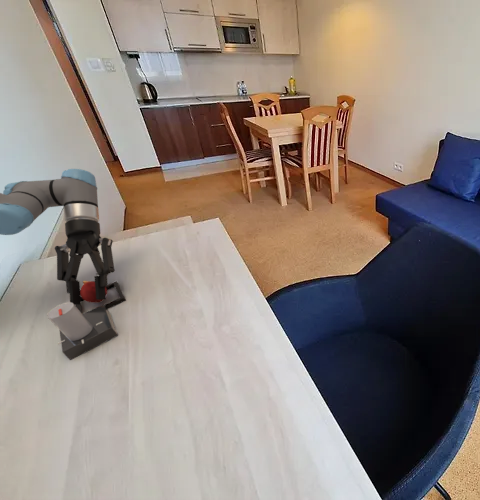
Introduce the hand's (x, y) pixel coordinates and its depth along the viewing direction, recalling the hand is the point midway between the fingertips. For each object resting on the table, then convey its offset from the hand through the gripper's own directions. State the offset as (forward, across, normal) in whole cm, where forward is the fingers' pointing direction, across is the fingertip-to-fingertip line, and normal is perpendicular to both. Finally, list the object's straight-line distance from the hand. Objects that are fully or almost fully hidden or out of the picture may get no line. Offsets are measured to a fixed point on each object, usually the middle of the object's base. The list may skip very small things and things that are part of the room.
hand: (88, 301), depth 83 cm
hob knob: (+9, -3, +8) cm, 12 cm away
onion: (0, 0, -5) cm, 5 cm away
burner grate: (0, 0, -5) cm, 5 cm away
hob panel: (+9, -3, +4) cm, 11 cm away
